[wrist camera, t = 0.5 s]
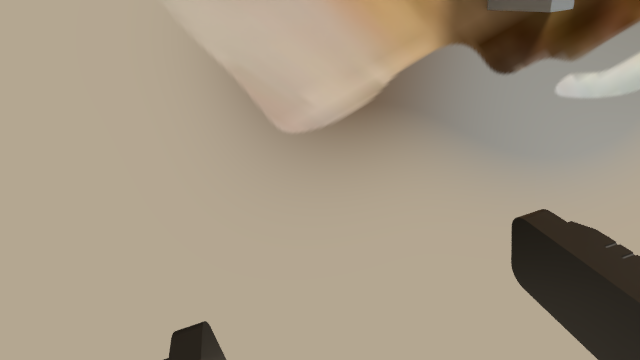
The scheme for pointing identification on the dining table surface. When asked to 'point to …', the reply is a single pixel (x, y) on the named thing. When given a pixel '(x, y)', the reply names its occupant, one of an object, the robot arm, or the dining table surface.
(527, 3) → the board
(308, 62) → the dining table surface
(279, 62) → the dining table surface
